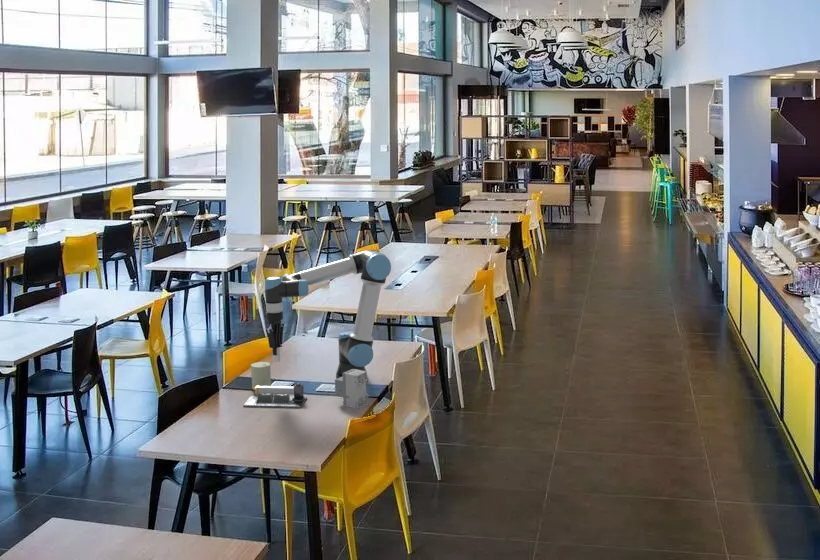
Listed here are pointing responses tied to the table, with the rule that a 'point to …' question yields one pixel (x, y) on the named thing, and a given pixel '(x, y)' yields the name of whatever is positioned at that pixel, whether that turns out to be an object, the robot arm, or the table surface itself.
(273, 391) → the swing arm
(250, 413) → the table surface
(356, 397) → the circuit breaker
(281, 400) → the tray
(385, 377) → the table surface
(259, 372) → the can
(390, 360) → the table surface
